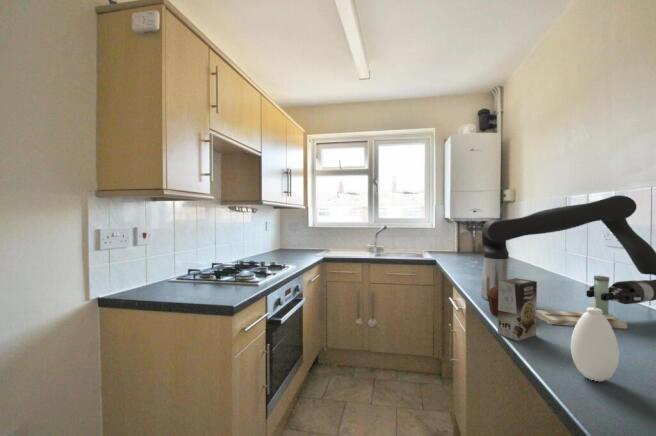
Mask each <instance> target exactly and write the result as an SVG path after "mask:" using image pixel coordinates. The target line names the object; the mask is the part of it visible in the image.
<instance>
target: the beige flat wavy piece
mask: <svg viewBox="0 0 656 436" xmlns="http://www.w3.org/2000/svg"><path fill="white" fill-rule="evenodd" d="M586 312H587V311H584V312H583V311H581V312H580V311H560V310H540V309H536V318H539V319H540V318H541V319H540V320H541V321H543V320H544V321H543V322H545V323H546V322H547V324H548V325H552V324H556V325H557V326H572V327H573V326H574V327H575V326H576V324H577V322H578V320H579V319H580V317H581V316H582V315H583V314H584V313H586ZM607 320H608V322H609V323H610V325H611V327H612V329H628V323H627V322H625V321H621V320H620V319H617V318H616V319H607Z"/></svg>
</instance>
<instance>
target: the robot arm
mask: <svg viewBox="0 0 656 436" xmlns="http://www.w3.org/2000/svg"><path fill="white" fill-rule="evenodd" d="M636 210H637V202H636V201H635V200H634V199H632V198H631V197H629V196H627V195H626V196H625V195H621V194H620V195H613V196H608V197H606V198H603V199H599V200H595V201H591V202H587V203H579V204H573V205H567V206H560V207H554V208H549V209H544V210H540V211H537V212H534V213H531V214H528V215H526V216H521V217H517V218H510V219H509V218H507V219H490V220H488V221H486V222H485V223H484V224H483V227H482V229H481V230H482V231H481V239H482V240H481V246H482V247H481V248H482V253H483V263H482V264H483V270H482V271H483V273H482V274H481V297H482V298H484V300H485V301H486V300H487V301H488V296H487V293H488V291H489V290H490V289H491V288H493V287H495V286H498V285H499V281H500V280H507V279H509V264H510V263H509V260H510V259H509V255H510V254H509V251H508V247H507V242H508V241H510V240H513V239H517V238H520V237H524V236H531V235H542V234H548V233H556V232H563V231H565V230H569V229H574V228H577V227H581V226H584V225H587V224H591V223H593V222H594V223H595V222H598V221H599V222H600V221H601V222H602V223H603V224H604V226H606V228H607V229H608V230H609V231H610V232H611V234H612V235H613V236H614V238H616V240H617V241H618V242H619V244H620V245H621V246H622V248H623V249H624V250H625V251H626V253H627V255H628V256H629V258H630V259H631V261H632V263H633V264H634V266H635V268H636V270H637V271H638V272H639V273H640V274H642V275H653V276H655V277H656V251H655V249H654V248H653V247H652V246H651V245H650V244H649V243H648V242H647V241H646V240H645V239H644V238H643V237H641V236H640V235H638V233H637V232H635V231H634V230H633V228H632V227H631V226H630V224H629V223H628V220H627V219H628V218H630V217H632V215H634V214H635V212H636ZM586 297H587V298H594V285H591V286H590V287H589V289H587V290H586ZM601 300H603V301H608V300H609V301H612V302H618V303H620V304H622V305H633V304H642V303H646V302H653V301H656V279H651V280H650V279H649V280H648V279H641V280H633V279H632V280H623V281H615V282H613V283H612V285H609V293H602V294H601Z"/></svg>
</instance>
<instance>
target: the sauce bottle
mask: <svg viewBox="0 0 656 436" xmlns="http://www.w3.org/2000/svg"><path fill="white" fill-rule="evenodd" d="M592 301H593V302H592V307H587V308H586V309H585V310H586V311H585V312H586V313H584V314H583V315H582V316H581V317H580V319H579V320H578V322H577V324H576V326H574V329H573V331H572V335H571V339H570V353H571V357H572V360H573V363H574V365H575V367H576V369H577V371H579V372H580V373H581V374H582V376H584V377H585V378H587V379H588V378H589V380H590V379H591V380H590V381H592V380H595V381H594V382H596V381H598V382H603V381H605V380H609V379H610V378H611V377H612V376H613V375H614V374H615V372H616V370H617V368H618V365H619V361H620V359H619V358H620V357H619V356H620V355H619V353H620V351H619V344H618V341H617V338H616V335H615V332H614V328H612V327H611V325H610V323H609V322H608V320H607V319H606V318H605V316H604V315H603V314H602V313H603V312H602V310H601V309H598V308H596V299H595V297H593V300H592Z"/></svg>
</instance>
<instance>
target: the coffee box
mask: <svg viewBox="0 0 656 436" xmlns="http://www.w3.org/2000/svg"><path fill="white" fill-rule="evenodd" d="M537 282H538V281H535V280H531V279H525V278H518V277H515V278H508V279H507V280H500V281H499V296H498V316H497V334H498V335H499V336H504V337H506V338H507V339H511V340H513V341H516V342H520V341H523V340H526V339H529V338H532V337H537V316H536V310H537V308H538V307H537V306H538V305H537V299H538V298H537V297H538V296H537V294H538V292H537V291H538V289H537V288H538V287H537V286H538V285H537V284H538V283H537Z"/></svg>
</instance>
